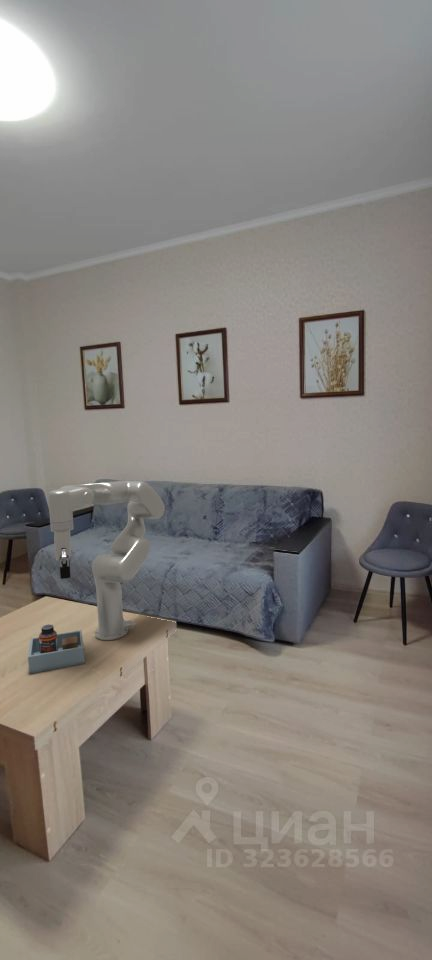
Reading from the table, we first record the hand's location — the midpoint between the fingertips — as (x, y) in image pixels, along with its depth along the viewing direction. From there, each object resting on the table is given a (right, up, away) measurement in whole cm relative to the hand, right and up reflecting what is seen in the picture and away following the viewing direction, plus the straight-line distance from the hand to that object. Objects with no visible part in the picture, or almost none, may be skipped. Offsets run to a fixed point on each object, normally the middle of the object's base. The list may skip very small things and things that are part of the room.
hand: (65, 573), depth 159 cm
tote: (-3, -30, +2) cm, 30 cm away
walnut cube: (+1, -29, +3) cm, 29 cm away
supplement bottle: (-6, -30, +1) cm, 30 cm away
